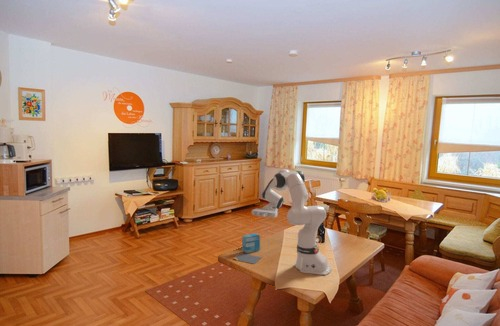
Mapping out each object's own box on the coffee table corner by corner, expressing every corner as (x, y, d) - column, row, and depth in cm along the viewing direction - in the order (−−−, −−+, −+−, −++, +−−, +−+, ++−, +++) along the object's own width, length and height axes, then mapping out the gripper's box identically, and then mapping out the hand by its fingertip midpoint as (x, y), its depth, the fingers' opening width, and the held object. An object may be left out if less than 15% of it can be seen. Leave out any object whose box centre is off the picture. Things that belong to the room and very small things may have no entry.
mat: (261, 257, 210) (261, 257, 210) (254, 264, 200) (254, 263, 200) (239, 253, 217) (239, 252, 217) (232, 259, 208) (232, 259, 208)
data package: (245, 253, 216) (244, 237, 215) (242, 251, 220) (242, 235, 219) (260, 250, 222) (259, 234, 220) (257, 248, 226) (256, 232, 224)
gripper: (255, 205, 249) (248, 210, 237) (279, 208, 240) (272, 213, 228) (255, 213, 250) (248, 217, 238) (279, 216, 241) (272, 221, 229)
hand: (260, 215), depth 233 cm, fingers open, 3 cm apart
